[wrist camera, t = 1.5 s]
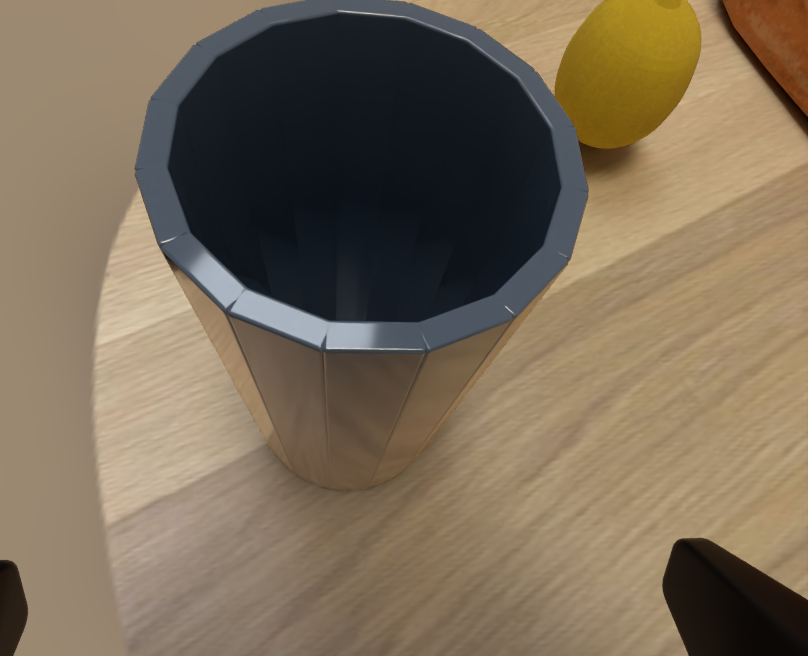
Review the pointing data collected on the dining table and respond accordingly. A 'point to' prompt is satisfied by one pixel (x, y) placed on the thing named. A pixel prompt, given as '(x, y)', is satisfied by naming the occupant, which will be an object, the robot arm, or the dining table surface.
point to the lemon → (628, 69)
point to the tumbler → (358, 218)
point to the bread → (777, 40)
